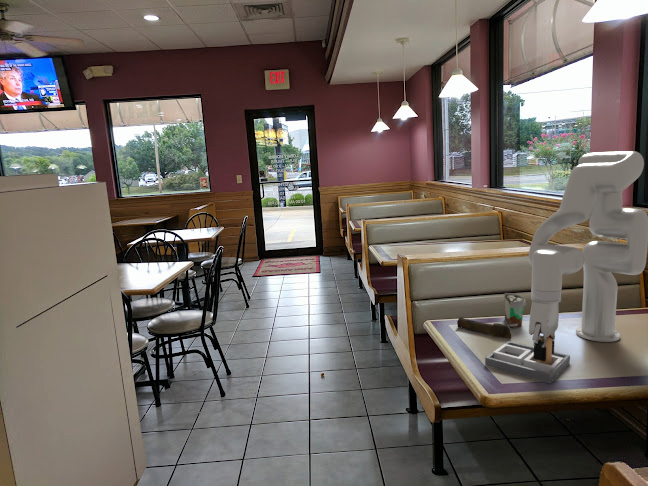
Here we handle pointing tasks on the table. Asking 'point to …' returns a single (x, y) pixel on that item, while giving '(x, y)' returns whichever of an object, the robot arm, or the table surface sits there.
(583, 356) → the table surface
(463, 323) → the hand tool
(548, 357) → the rounded peg
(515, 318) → the food container
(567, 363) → the tray
